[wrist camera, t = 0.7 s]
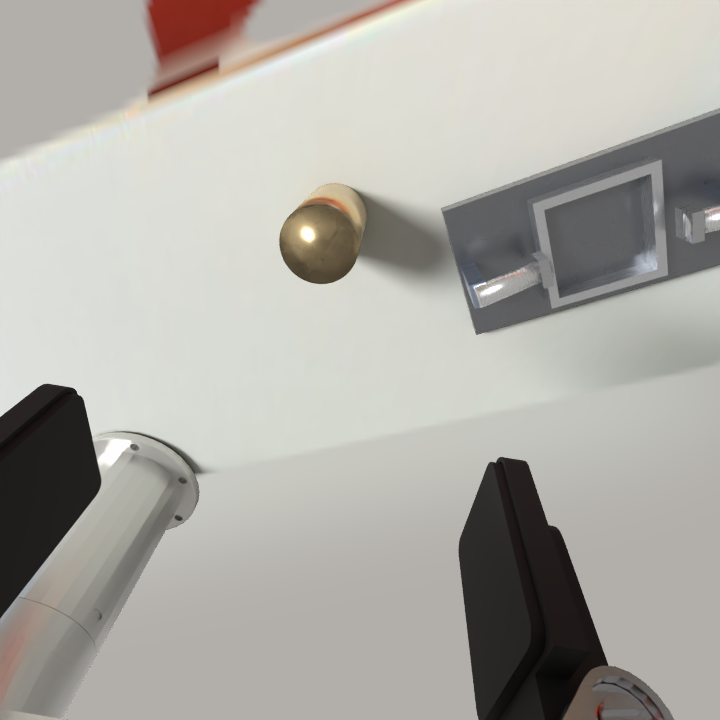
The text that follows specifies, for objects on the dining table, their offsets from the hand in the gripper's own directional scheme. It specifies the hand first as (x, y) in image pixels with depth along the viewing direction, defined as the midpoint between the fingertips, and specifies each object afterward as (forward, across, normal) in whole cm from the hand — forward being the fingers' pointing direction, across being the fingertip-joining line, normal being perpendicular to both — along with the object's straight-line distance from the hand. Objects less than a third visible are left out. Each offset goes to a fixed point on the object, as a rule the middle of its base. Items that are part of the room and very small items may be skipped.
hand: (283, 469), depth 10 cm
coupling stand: (+25, -15, -2) cm, 29 cm away
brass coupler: (+25, +2, 0) cm, 25 cm away
